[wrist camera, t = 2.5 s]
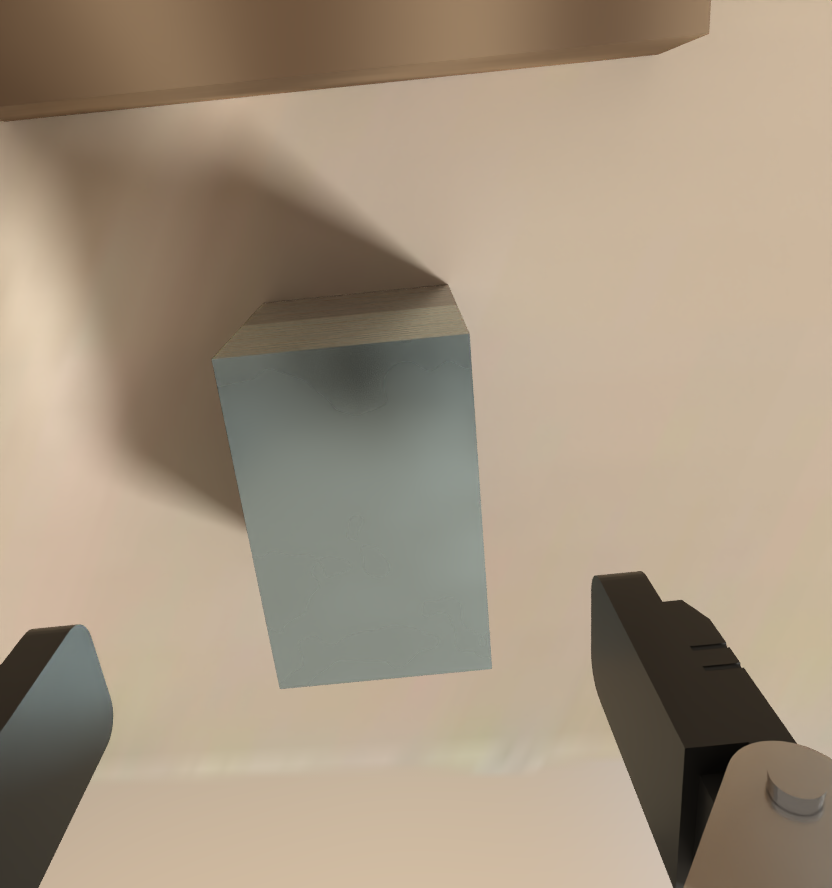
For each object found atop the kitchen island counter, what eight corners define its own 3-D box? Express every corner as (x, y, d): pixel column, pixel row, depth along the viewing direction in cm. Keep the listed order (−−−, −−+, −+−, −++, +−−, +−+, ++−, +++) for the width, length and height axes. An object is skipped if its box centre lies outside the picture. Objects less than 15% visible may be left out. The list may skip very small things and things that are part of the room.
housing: (447, 283, 19) (468, 333, 14) (467, 541, 22) (491, 668, 17) (264, 301, 19) (211, 359, 14) (308, 556, 22) (279, 689, 17)
